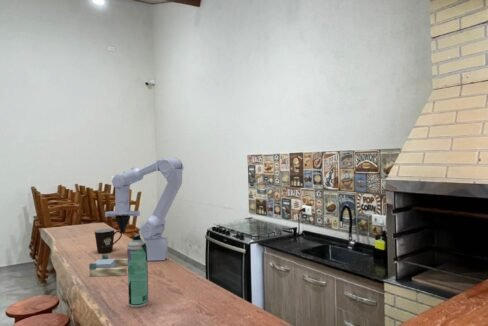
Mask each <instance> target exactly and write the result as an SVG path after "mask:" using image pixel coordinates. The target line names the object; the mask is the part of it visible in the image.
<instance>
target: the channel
mask: <svg viewBox="0 0 488 326" xmlns="http://www.w3.org/2000/svg"><path fill="white" fill-rule="evenodd" d="M101 257H102V258H101V259H109V253H106V254H101ZM115 259H116V267H115V268H98V269H96V263H94V262H92V263H89V265H88V269H89V277H91V278H92V277H115V276H117V277H119V276H120V277H121V276H128V258H115Z"/></svg>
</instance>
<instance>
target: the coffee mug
mask: <svg viewBox="0 0 488 326" xmlns="http://www.w3.org/2000/svg"><path fill="white" fill-rule="evenodd" d="M117 233H119V234H120V236H119V237H118V238H117V240H114V239H115V238H114V237H115V235H116V234H117ZM122 236H123V233H121V232H120V230H116V231H115V229H114V228H101V229H96V230H94V238H95V244H96V250H97V254H100V255H103V254H110V253H112V252H113V250H114V245H115V244H116V243H117V242H119V240H120V239H121V238H122Z"/></svg>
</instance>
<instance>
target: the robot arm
mask: <svg viewBox="0 0 488 326" xmlns="http://www.w3.org/2000/svg"><path fill="white" fill-rule="evenodd" d="M184 168H185V166H184V164H183V162H182V161H181V159H180V158H178V157H173V158H171V157H170V158H168V157H164V158H161V159H157V160H156V161H154V162H153V161H152V162H151V163H149V164H147V165H144V166H143V167H141V168H139V167H135V166H133V167H131V169H130V170H127V171H123V172H122V174H118V173H117V174H115V175H114V176H113V177H112V180H111V183H112V186H113V187H114V188H115V189H114V192H115V194H114V195H115V197H114V198H115V199H114V200H115V210H114V211H105V212H104V217H105V218H107V217H115V218H114V220H115V221H116V223H117V225H118V228H119V231H120V232H121V233H122V234H125V233H126V229H127V225H128V224H129V223H128V222H129V220H130V218H131V217H140V215H141V213H140V212H141V211H140V210H130V190H131V188H130V187H131V185H133V184H135V183H137V182H139V181H142V180H143V179H144V176H147V175H149V174H151V173H154V172H160V173H161V174H162V175H163V177H164V178H165V180H166V182H167V184H166V186H165V188H164V190H163V192H162V194H161V196H160V198H159V200H158V201H157V203H156V207H155V208H154V210H153V212H152V214H151V215H150V217H148V218H147V219H146V221H145V222H144V224H142V225H141V227H140V229H139V232H140V235H141V237H142V240H143V241H145V242H146V243H147V244H146V245H147V262H151V261H153V262H155V261H165V260H166V259H167V258H168V256H169V254H168V253H169V251H168V248H169V247H168V238H167V237H165V236H163V233H164V231H165V227H166V223H167V221H166V217H167V215H168V212H169V211H170V209H171V206H172V205H173V202H174V200H175V198H176V196H177V194H178V193H179V190H180V188H181V186H182V185H183V171H184Z"/></svg>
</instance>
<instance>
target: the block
mask: <svg viewBox="0 0 488 326" xmlns="http://www.w3.org/2000/svg"><path fill="white" fill-rule="evenodd" d="M116 259H117V258H108V259H102V258H101V259H96V260H95V261H94V262H93V263H96V269H98V268H117V266H116Z"/></svg>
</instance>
